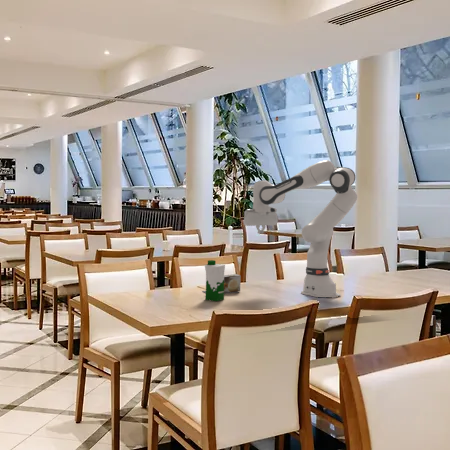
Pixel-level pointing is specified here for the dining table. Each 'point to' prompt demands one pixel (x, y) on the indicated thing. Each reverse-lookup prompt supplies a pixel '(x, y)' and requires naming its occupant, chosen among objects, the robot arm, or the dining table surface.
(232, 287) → the coffee box
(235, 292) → the mat
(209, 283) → the milk carton
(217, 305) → the dining table surface
